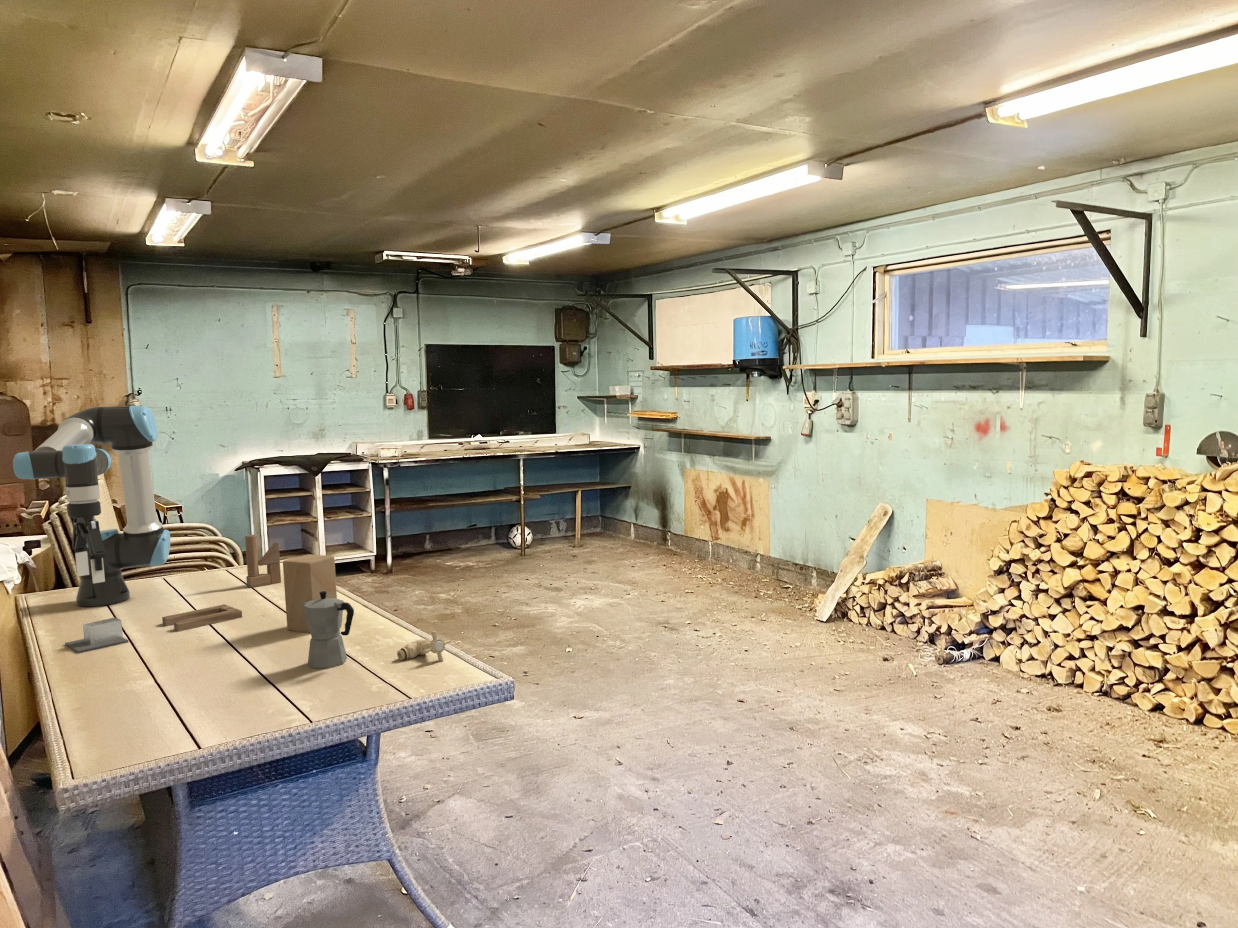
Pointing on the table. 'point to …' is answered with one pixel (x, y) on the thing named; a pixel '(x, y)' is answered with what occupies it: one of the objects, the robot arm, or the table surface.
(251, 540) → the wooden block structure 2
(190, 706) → the table surface
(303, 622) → the wooden block
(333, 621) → the coffeepot
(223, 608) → the slot board
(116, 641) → the rubber mat
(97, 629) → the aluminium block
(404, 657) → the valve
